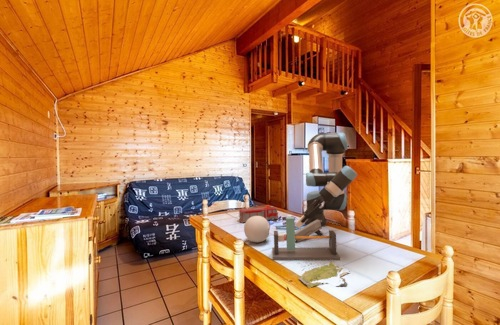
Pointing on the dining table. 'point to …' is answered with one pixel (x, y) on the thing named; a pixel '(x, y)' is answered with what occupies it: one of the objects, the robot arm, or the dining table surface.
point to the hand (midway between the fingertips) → (296, 226)
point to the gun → (310, 229)
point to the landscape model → (322, 275)
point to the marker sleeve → (290, 233)
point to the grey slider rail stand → (306, 249)
